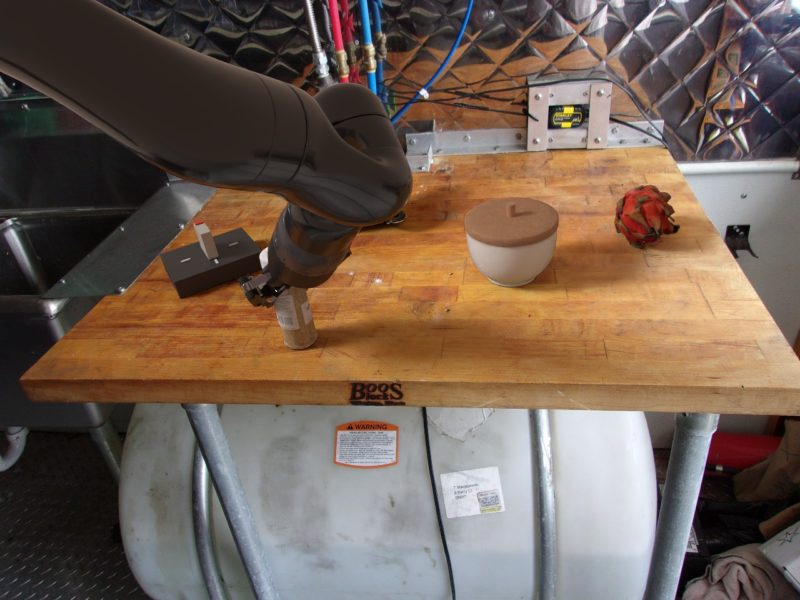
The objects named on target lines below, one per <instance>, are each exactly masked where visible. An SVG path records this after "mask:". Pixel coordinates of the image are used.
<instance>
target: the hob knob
mask: <svg viewBox="0 0 800 600" xmlns="http://www.w3.org/2000/svg"><path fill="white" fill-rule="evenodd" d="M192 225H193V228H194V230H195V233H196V236H197V239H198V241H199V242H200V245H201V248H202V250H203V251H204V253H205V254H206V256H207V257H208V259H209V260H210V259H213V258H216V257H219V255H218V252H217V249H216V246H215V243H214V240H213V234H212V231H211V229H210V228H209V227H208V226H207V224H206V223H205V221H204V220H203V219H200V220H196V221H193V222H192Z"/></svg>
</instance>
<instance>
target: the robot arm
mask: <svg viewBox="0 0 800 600" xmlns="http://www.w3.org/2000/svg"><path fill="white" fill-rule="evenodd" d="M0 72H1V73H3V74H4V75H7V76H9V77H11V78H13V79H15V80H17V81H20V82H21V83H23V84H25V85H27V86H28V87H30V88H32V89H34V90H35V91H38V92H39V93H41V94H43V95H45V96H46V97H48V98H50V99H52V100H53V101H55V102H57V103H58V104H60V105H61V106H63V107H65V108H66V109H67V110H69V111H71V112H73V113H74V114H76V115H77V116H79V117H80V118H82V119H83V120H85V121H87V122H88V123H89V124H91V125H92V126H93V127H95V128H97V129H98V130H100V132H103V133H104V134H105V135H107V136H108V137H109V138H111V139H112V140H113V141H115V142H117V143H118V144H120V145H121V146H122V147H124V148H125V149H127V150H129V151H130V152H131V153H133V154H134V155H136V156H137V157H138V158H140V159H141V160H144V161H145V162H146V163H148V164H150V165H152V166H154V167H156V168H157V169H159V170H161V171H164V172H165V173H168V174H169V175H171V176H173V177H176V178H178V179H180V180H183V181H185V182H189V183H192V184H195V185H199V186H204V187H210V188H215V189H222V190H232V191H241V192H249V193H250V192H251V193H258V194H268V195H269V194H271V195H275V196H277V197H278V198H280V199H282V200H284V201H285V202H286V205H285V206H284V208H283V209H282V210H281V212H280V214H279V216H278V219H277V221H276V224H275V226H274V229H273V232H272V235H271V238H270V240H269V243H268V246H267V247H268V264H267V265H266V266H265V267H264V268H263V269H261V275H259V276H257V277H255V278H254V276H253V275H251V276H248V275H244V276H241V277H239V278H237V281H236V282H238V284H239V287H240V288H241V290H242V292H243V294H244V295H245V298H246V299H247V302H249V304H251V305H252V306H253V307H254V308H257V307H262V308H264V307H265V308H266V309H270V308H272V307H274V303H275V301H276V299H277V298H278V297H281V296H283V295H286V294H287V293H288V292H289V291H290V290H291V289H292V288H294V287H296V288H302V289H306V292H307V291H308V290H309V289H314V288H317V287H320V286H322V285H323V284H325V283H326V282H328V281H329V280H330V279H331V277H332V276H333V275H334V274H335V272H336V270H337V269H338V267H339V266H340V265H341V264H342V263H344V262H345V261H346V260H347V259H348V258H349V257H350V256H351V255H352V254H353V252H352V250H351V247H352V244H353V242H354V240H355V239H356V237H357V236H358V234H359V233H360V231H361V230H362V228H363V227H368V226H369V227H370V226H374V225H378V224H381V223H384V222H386V221H387V220H389V219H390V218H392V217H394V216H395V215H397V214H398V213H399V212H400V211H401V210H403V209H404V208H405V207H406V205H407V204H408V202H409V201H410V198H411V196H412V193H413V188H414V177H413V172H412V168H411V165H410V163H409V161H408V158H407V156H406V154H405V151H404V149H403V147H402V145H401V141H400V140H399V138H398V135H397V133H396V131H395V128H394V125H393V124H392V122H391V119H390V117H389V115H388V112H387V110H386V108H385V107H386V106H385V105H384V104H383V102H382V100H381V99H380V98H379V96H378V95H377V94H376V93H375V91H373V90H372V89H370V88H369V87H367V86H365V85H363V84H360V83H358V82H357V83H356V82H349V81H348V82H346V81H344V82H338V83H335V84H331V85H329V86H326V87H324V88H322V89H320V90H319V91H318V92H316V93H315V94H314V95H313V96H312V95H311V94H310V93H309V92H307V91H305V90H304V89H302V88H300V87H299V86H297V85H293V84H291V83H288V82H285V81H283V80H279V79H277V78H273V77H271V76H267V75H265V74H262V73H259V72H256V71H254V70H250V69H247V68H245V67H241V66H238V65H235V64H231V63H229V62H225V61H223V60H220V59H217V58H215V57H212V56H210V55H208V54H204V53H202V52H199V51H197V50H195V49H193V48H190V47H187V46H186V45H183V44H181V43H178V42H176V41H174V40H172V39H170V38H168V37H166V36H163V35H161V34H159V33H157V32H156V31H153V30H152V29H149V28H147V27H146V26H144V25H142V24H140V23H138V22H136V21H134V20H132V19H130V18H128V17H127V16H124V15H123V14H121V13H119V12H117V11H116V10H114V9H113V8H110V7H109V6H106V5H105V4H103V3H101V2H100V1H97V0H0Z"/></svg>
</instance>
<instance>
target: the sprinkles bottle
mask: <svg viewBox="0 0 800 600" xmlns="http://www.w3.org/2000/svg"><path fill="white" fill-rule="evenodd" d="M260 262H261V266H262V269H263V268H264V267H265V266H266V265H267V264H268V246H267V247H266V248H264V249H262V252H261V254H260ZM262 269H261V270H262ZM273 308H274V310H275V314H276V315H275V316H276V318H277V321H278V325H279V327H280V330H281V333H282V336H283V344H284V345H285V347H287V348H288V349H291V350H303V349H306V348H309V347H310V346H312V345H313V344H314V343H315V342H316V341H317V340H318V331H317V329H316V326H315V323H314V318H313V312H312V308H311V304H310V301H309V297H308V292H307V291H306V289H302V288H296V287H294V288H292V289H291V290H290V291H289V292H288V293H287V294H286V295H283V296H281V297H278V298H277V299H276V301H275V303H274V305H273Z"/></svg>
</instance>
